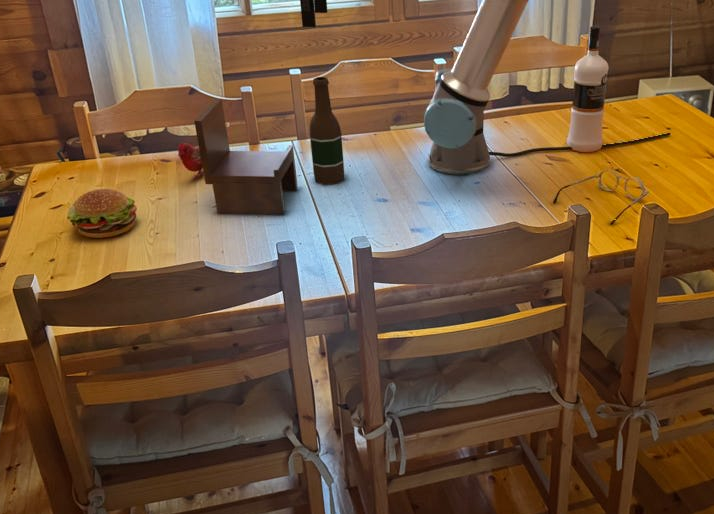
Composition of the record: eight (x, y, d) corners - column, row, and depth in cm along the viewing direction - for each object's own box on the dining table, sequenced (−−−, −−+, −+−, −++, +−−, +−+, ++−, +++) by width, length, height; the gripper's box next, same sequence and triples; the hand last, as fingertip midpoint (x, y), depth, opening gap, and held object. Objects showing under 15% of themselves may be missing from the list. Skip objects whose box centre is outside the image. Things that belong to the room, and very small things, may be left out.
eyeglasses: (653, 204, 183) (656, 183, 180) (613, 225, 174) (615, 204, 171) (591, 184, 193) (593, 163, 190) (550, 203, 184) (552, 182, 181)
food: (88, 213, 183) (79, 179, 178) (148, 215, 182) (140, 181, 177) (58, 240, 172) (48, 205, 167) (122, 242, 170) (114, 207, 166)
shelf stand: (297, 188, 193) (287, 99, 181) (283, 215, 181) (271, 121, 169) (229, 187, 194) (215, 98, 182) (210, 213, 182) (194, 120, 170)
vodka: (580, 138, 218) (591, 20, 202) (609, 146, 213) (622, 26, 196) (559, 147, 213) (568, 26, 196) (587, 156, 208) (599, 32, 191)
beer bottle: (340, 186, 194) (331, 84, 180) (308, 184, 195) (298, 82, 182) (349, 173, 200) (342, 74, 187) (319, 171, 201) (309, 72, 188)
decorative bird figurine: (179, 187, 195) (171, 146, 189) (214, 160, 209) (208, 122, 203) (190, 188, 194) (182, 147, 188) (224, 161, 208) (218, 122, 203)
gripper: (300, -98, 176) (309, 7, 188) (273, -84, 155) (285, 33, 167) (335, -98, 175) (342, 7, 187) (312, -84, 155) (321, 33, 166)
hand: (315, 19), depth 177 cm, fingers open, 13 cm apart
